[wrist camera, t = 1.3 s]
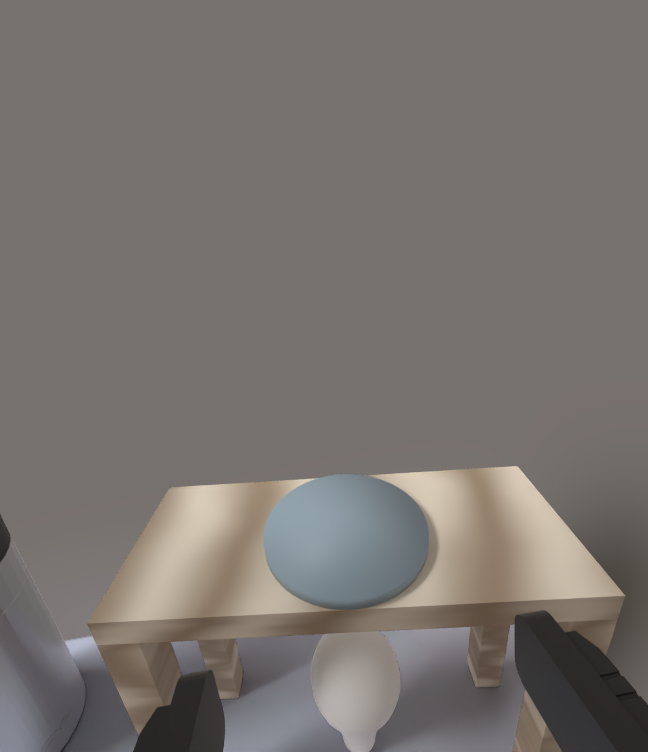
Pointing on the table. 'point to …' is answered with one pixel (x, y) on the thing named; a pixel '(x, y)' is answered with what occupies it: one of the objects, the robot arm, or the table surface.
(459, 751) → the table surface
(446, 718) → the table surface
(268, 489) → the stool
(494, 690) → the table surface
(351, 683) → the lightbulb
